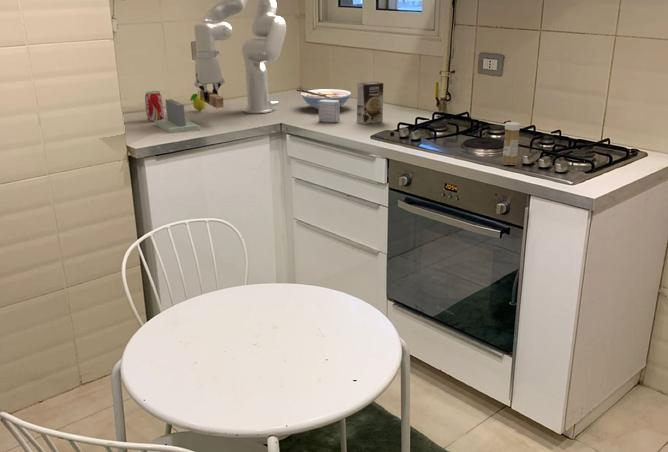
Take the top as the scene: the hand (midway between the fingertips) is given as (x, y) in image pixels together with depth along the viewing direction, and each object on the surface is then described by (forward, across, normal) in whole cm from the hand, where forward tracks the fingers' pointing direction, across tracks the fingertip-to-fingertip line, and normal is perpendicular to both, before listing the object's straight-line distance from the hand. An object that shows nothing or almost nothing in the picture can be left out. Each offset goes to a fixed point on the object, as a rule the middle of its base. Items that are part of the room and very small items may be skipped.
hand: (211, 100), depth 270 cm
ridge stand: (+9, +16, 0) cm, 18 cm away
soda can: (+9, +19, -18) cm, 27 cm away
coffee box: (+11, -54, +38) cm, 66 cm away
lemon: (+10, -4, -26) cm, 28 cm away
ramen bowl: (+11, -54, +2) cm, 55 cm away
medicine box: (+11, -41, +26) cm, 50 cm away
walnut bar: (+1, 0, 0) cm, 1 cm away
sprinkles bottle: (+10, -53, +116) cm, 128 cm away
